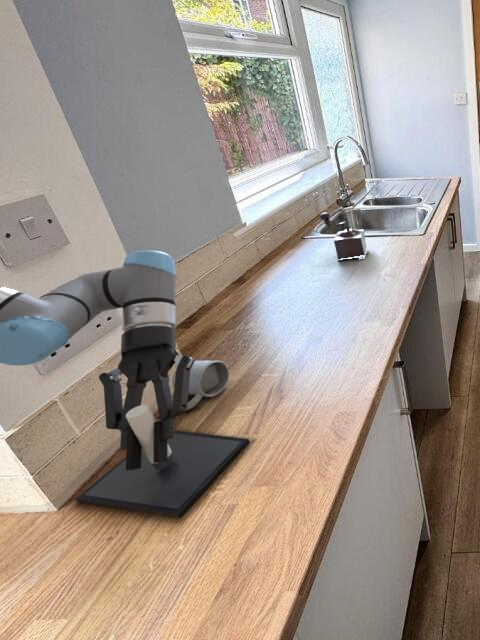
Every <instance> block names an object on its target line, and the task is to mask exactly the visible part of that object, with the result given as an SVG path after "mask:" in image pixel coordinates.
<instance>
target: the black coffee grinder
mask: <svg viewBox="0 0 480 640" xmlns="http://www.w3.org/2000/svg"><path fill="white" fill-rule="evenodd" d="M330 216H331V215H330V213H329V212H322V213H321V214H320V215H319V219H320V220H321V221H322V222H323V223H324V225H325V226H327V227H328V228H335V227H339V226H340V227H341V226H343V225H345V227H346V228H345V229H344V230H342V231H338V232H337V233H336V235H335V237H334V239H333V243H334V247H335V251H336V257H337V261H338V263H346V262H355V261H362V260H361V259H360V260H359V258H352V259H343V260H338V259H341V258H348V257H354V256H360V255H365V252H366V247H367V248H368V246H367V240H366V234H365V230H364V228H362V229H355V228H351V226H349V220H348V217H347V216H345V217H343V220H344V221H342V222H339V223H335V224H331V223H332V221H331V220H330V219H331V217H330ZM362 258H363V257H362Z"/></svg>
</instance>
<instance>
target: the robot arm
mask: <svg viewBox="0 0 480 640" xmlns="http://www.w3.org/2000/svg"><path fill="white" fill-rule="evenodd" d="M175 263H176V262H175V259H174V258H173V256H171V255H170V254H168V253H166V252H163V251H159V250H151V249H150V250H149V249H148V250H138V251H134V252H132V253H129V254H127V255H126V256H125V258H124V261H123V265H122V267H115V268H111V269H106V270H100V271H93V272H86V273H87V274H86V273H83V274H84V275H81V276H79V277H78V278H76V279H74V280H71V281H69V282H67V283H65V284H63V285H61V286H59V287H57V288H56V289H54V290H52V291H50V292H49V293H47V294H45V295H43V296H41V297H40V298H39V299H36V298H34V296H32V295H29V294H26V293H24V292H22V291H19V290H16V289H14V288H11V287H9V288H6V287H7V286H6V287H1V288H0V364H3V365H7V366H16V367H17V366H19V367H21V366H30V365H33V364H36V363H39V362H41V361H44V360H45V359H46V358H48V357H49V356H51V355H52V354H53V353H55V352H56V351H58V350H59V349H61V348H62V347H64V346H65V345H66V344H67V343H68V342H69V340H70V339H72V337H74V336H75V335H76V334H77V333H78V332H79V331H81V330H82V328H84V327H86V325H87V324H89V323H90V322H91V321H92V320H94V318H96V317H97V316H98V315H99V314H101V313H102V312H103V313H104V312H106V311H111V310H112V311H113V310H117V309H122V317H121V318H122V319H121V321H122V323H121V330H122V332H123V333H122V334H121V337H120V354H121V358H120V361H119V362H118V365H117V367H116V368H114V369H112V370H111V371H109V372H101V373H100V374H99V375H98V379H99V381H100V383H101V384H102V385H103V395H104V412H105V413H104V415H105V427H106V429H107V430H118V431H120V450H121V451H126V454H125V457H126V471H127V470H135V469H139V468H141V453H142V446H141V444H140V442H139V440H138V439H137V437H136V435H135V433H134V431H133V429H132V428H131V426H130V424H129V422H128V420H127V418H126V414H127V413H128V412H129V411H130V410H131V409H133V408H135V407H137V406H140V405H142V400H143V396H144V390H145V389H146V388H147V383H148V382H150V381H151V383H152V384H153V388H154V394H155V400H156V405H157V412H158V416H157V417H156V418H157V420H158V421H157V420H156V421H157V422H154V457H153V463H158V462H164V461H167V453H168V439H171V438H173V435H174V432H173V431H174V430H175V429H174V427H175V426H174V425H175V424H174V423H175V419H176V418H177V417H178V416H180V415H181V414H185V413H186V412H187V411H188V410H187V403H189V401H188V400H189V394H188V390H189V379H190V370H191V368H192V366H193V364H194V362H195V361H196V358H194V357H192V356H190V355H189V356H188V355H180V354H179V353H178V352H177V350H176V347H177V331H176V329H175V328H176V326H177V317H176V316H177V315H176V314H177V313H176V280H177V274H176V265H175ZM10 288H11V289H10ZM174 365H175V367H176V369H175V371H176V375H175V385H174V387H173V394H172V392H171V387H170V382H171V381H170V375H169V372H170V371H171V369H172V368H173V366H174ZM122 375H124V376H125V377H126V379H127V381H126V386H125V387H126V388H127V389H126V394H125V398H124V403H123V391H122V389H123V388H122V384H121V381H122V380H123V378H122ZM172 395H173V396H172ZM172 397H173V403H172Z"/></svg>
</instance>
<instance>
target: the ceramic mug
mask: <svg viewBox="0 0 480 640" xmlns="http://www.w3.org/2000/svg"><path fill="white" fill-rule="evenodd" d="M175 375H176V370H175V371H174V373H173V375H172V379H171V381H172V387H173V388H174V385H175ZM229 379H230V370H229V367H228V365H227V364H226V363H225V362H224V361H222V360H195V362H194V364H193V366H192V368H191V370H190V379H189V390H188V396H190V395H191V396H194V397H193V398H192V399H191V400H189V401H188V402H187V410H186V411H188V410H190V409H192V408H194V407H195V406H196V405H197V404H198V403H200V401H201V400H202V399H203V397H205V398H212V397H215V396H217V395H219V394H220V393H221V392H222V391H223V390H224V389H225V388H226V386H227V385H228V383H229ZM171 397H172V403H173V396H171Z"/></svg>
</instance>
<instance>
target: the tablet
mask: <svg viewBox="0 0 480 640" xmlns="http://www.w3.org/2000/svg"><path fill="white" fill-rule="evenodd" d="M173 432H174V435H173V438H171V439H168V445H169V447H170V449H171V451H172V453H173V455H174V460H173V462H172V463H171V464H170V465H168V466H167V467H165V468H162V469H158V470H157V469H154V468H153V466H152V464H151V462H150V461H149V459H148V457H147V455H146V453H145V451H144V450H143V448H142V453H141V468H139V469H135V470H127V471H126V456H125V457H124V458H123V459H122V460H120V461H119V462H117V464H116V465H114V466H113V467H112V468H111V469H110V470H108V471H107V472H106V473H105V474H103V475H102V476H101V477H100V478H99V479H97V480H96V481H95V482H94V483H93V484H91V485H90V486H89V487H88V488H87V489H85V490H84V491H83V492H82V493H80V494H79V495H78V496H77V497H75V501H76V502H77V504H83V505H88V506H96V507H101V508H109V509H114V510H121V511H128V512H134V513H141V514H148V515H154V516H160V517H166V518H172V519H179V520H180V519H182V517H183V516H184V515H185V514H186V513H187V512H188V511H189V510H190V509H191V508H192V507H193V506H194V504H195V503H196V502H197V501H198V500H199V499H200V498H201V497H202V496H203V495H204V493H205V492H206V491H207V490H208V489H209V488H210V487H211V486H212V485H213V483H214V482H215V481H216V480H217V479H218V478H219V477H220V476H221V475H222V474H223V472H225V470H227V468H228V467H229V466H230V465H232V463H233V462H234V461H235V459H237V457H238V456H239V455H240V454H241V453H242V452H243V451H244V450H245V449H246V448H247V446H248V445H249V444H250V440H249V438H245V437H244V438H243V437H235V436H225V435H217V434H211V433H199V432H191V431H183V430H175V429H174V431H173Z"/></svg>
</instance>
